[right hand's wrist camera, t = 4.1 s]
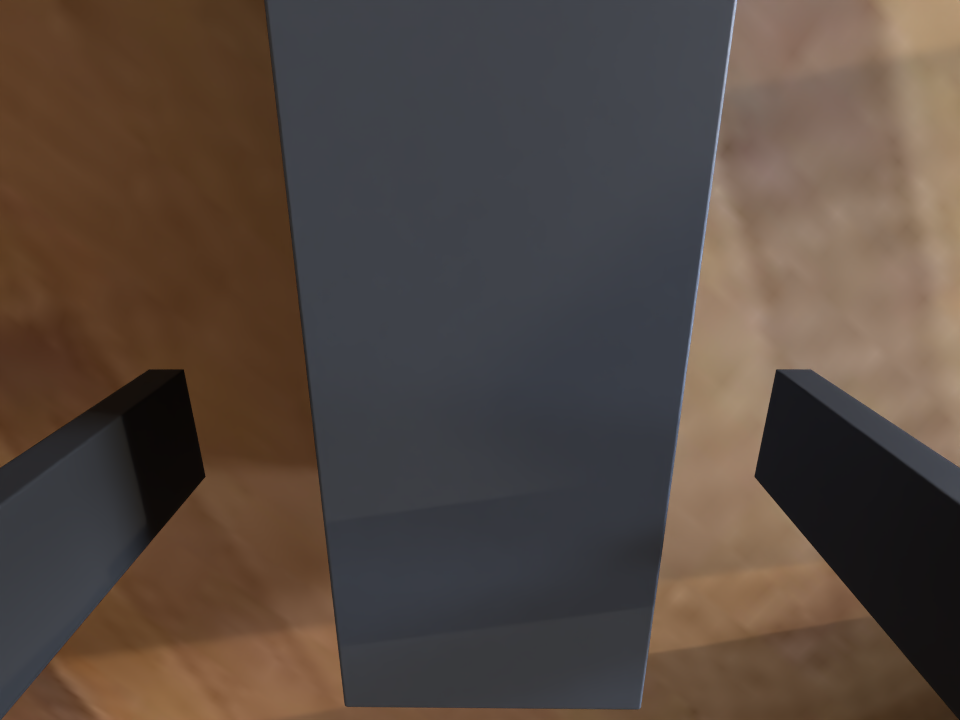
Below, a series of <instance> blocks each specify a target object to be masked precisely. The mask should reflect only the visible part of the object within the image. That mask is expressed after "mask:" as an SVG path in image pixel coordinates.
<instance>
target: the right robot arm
mask: <svg viewBox="0 0 960 720" xmlns="http://www.w3.org/2000/svg"><path fill="white" fill-rule="evenodd" d="M204 478H205V472H204V467H203V462H202V457H201V452H200V447H199V442H198V437H197V432H196V427H195V423H194V418H193V413H192V408H191V403H190V398H189V393H188V388H187V383H186V378H185V373H184V370H148V371H146V372H145V373H143V374H142V375H140V376H139V377H137V378H136V379H134V380H133V381H131V382H129V383H128V384H126V385H125V386H123V387H122V388H120V389H119V390H117V391H116V392H114V393H113V394H111V395H110V396H108V397H107V398H105V399H104V400H102V401H101V402H99V403H98V404H96V405H95V406H93V407H92V408H90V409H89V410H87V411H86V412H84V413H83V414H81V415H80V416H78V417H77V418H75V419H74V420H72V421H71V422H69V423H68V424H66V425H64V426H63V427H61V428H60V429H58V430H57V431H55V432H54V433H52V434H51V435H49V436H48V437H46V438H45V439H43V440H42V441H40V442H39V443H37V444H36V445H34V446H33V447H31V448H30V449H28V450H27V451H25V452H24V453H22V454H21V455H19V456H18V457H16V458H15V459H13V460H12V461H10V462H9V463H7V464H6V465H4V466H2V467H1V468H0V720H1V719H2V718H3V717H4V715H5V714H6V713H7V712H8V711H9V710H10V708H11V707H12V706H13V705H14V704H15V702H16V701H17V700H18V699H19V698H20V696H21V695H22V694H23V693H24V692H25V691H26V689H27V688H28V687H29V686H30V685H31V683H32V682H33V681H34V680H35V679H36V677H37V676H38V675H39V674H40V673H41V672H42V670H43V669H44V668H45V667H46V666H47V664H48V663H49V662H50V661H51V660H52V658H53V657H54V656H55V655H56V654H57V653H58V651H59V650H60V649H61V648H62V647H63V645H64V644H65V643H66V642H67V641H68V639H69V638H70V637H71V636H72V635H73V634H74V632H75V631H76V630H77V629H78V628H79V626H80V625H81V624H82V623H83V622H84V620H85V619H86V618H87V617H88V616H89V614H90V613H91V612H92V611H93V610H94V609H95V607H96V606H97V605H98V604H99V603H100V601H101V600H102V599H103V598H104V597H105V595H106V594H107V593H108V592H109V591H110V590H111V588H112V587H113V586H114V585H115V584H116V582H117V581H118V580H119V579H120V578H121V576H122V575H123V574H124V573H125V572H126V571H127V569H128V568H129V567H130V566H131V565H132V563H133V562H134V561H135V560H136V559H137V557H138V556H139V555H140V554H141V553H142V552H143V550H144V549H145V548H146V547H147V546H148V544H149V543H150V542H151V541H152V540H153V538H154V537H155V536H156V535H157V534H158V533H159V531H160V530H161V529H162V528H163V527H164V525H165V524H166V523H167V522H168V521H169V519H170V518H171V517H172V516H173V515H174V514H175V512H176V511H177V510H178V509H179V508H180V506H181V505H182V504H183V503H184V502H185V500H186V499H187V498H188V497H189V496H190V495H191V493H192V492H193V491H194V490H195V489H196V487H197V486H198V485H199V484H200V483H201V481H202V480H203V479H204ZM755 478H756V479H757V480H758V481H759V483H760V484H761V485H762V486H763V487H764V489H765V490H766V491H767V492H768V493H769V495H770V496H771V497H772V498H773V499H774V500H775V502H776V503H777V504H778V505H779V506H780V508H781V509H782V510H783V511H784V512H785V514H786V515H787V516H788V517H789V518H790V519H791V521H792V522H793V523H794V524H795V525H796V527H797V528H798V529H799V530H800V531H801V533H802V534H803V535H804V536H805V537H806V538H807V540H808V541H809V542H810V543H811V544H812V546H813V547H814V548H815V549H816V550H817V552H818V553H819V554H820V555H821V556H822V557H823V559H824V560H825V561H826V562H827V563H828V565H829V566H830V567H831V568H832V569H833V571H834V572H835V573H836V574H837V575H838V576H839V578H840V579H841V580H842V581H843V582H844V584H845V585H846V586H847V587H848V588H849V590H850V591H851V592H852V593H853V594H854V595H855V597H856V598H857V599H858V600H859V601H860V603H861V604H862V605H863V606H864V607H865V609H866V610H867V611H868V612H869V613H870V615H871V616H872V617H873V618H874V619H875V620H876V622H877V623H878V624H879V625H880V626H881V628H882V629H883V630H884V631H885V632H886V634H887V635H888V636H889V637H890V638H891V639H892V641H893V642H894V643H895V644H896V645H897V647H898V648H899V649H900V650H901V651H902V653H903V654H904V655H905V656H906V657H907V658H908V660H909V661H910V662H911V663H912V664H913V666H914V667H915V668H916V669H917V670H918V672H919V673H920V674H921V675H922V676H923V677H924V679H925V680H926V681H927V682H928V683H929V685H930V686H931V687H932V688H933V689H934V691H935V692H936V693H937V694H938V695H939V696H940V698H941V699H942V700H943V701H944V702H945V704H946V705H947V706H948V707H949V708H950V710H951V711H952V712H953V713H954V714H955V715H956V717H957V718H958V719H959V720H960V468H959V467H957V466H956V465H954V464H953V463H951V462H950V461H948V460H947V459H945V458H944V457H942V456H941V455H939V454H938V453H936V452H935V451H933V450H932V449H930V448H929V447H927V446H926V445H924V444H923V443H921V442H920V441H918V440H917V439H915V438H914V437H912V436H911V435H909V434H908V433H906V432H905V431H903V430H902V429H900V428H899V427H897V426H896V425H894V424H892V423H891V422H889V421H888V420H886V419H885V418H883V417H882V416H880V415H879V414H877V413H876V412H874V411H873V410H871V409H870V408H868V407H867V406H865V405H864V404H862V403H861V402H859V401H858V400H856V399H855V398H853V397H852V396H850V395H849V394H847V393H846V392H844V391H843V390H841V389H840V388H838V387H837V386H835V385H834V384H832V383H831V382H829V381H827V380H826V379H824V378H823V377H821V376H820V375H818V374H817V373H815V372H814V371H812V370H776V373H775V378H774V383H773V388H772V393H771V398H770V403H769V408H768V413H767V418H766V423H765V427H764V432H763V437H762V442H761V447H760V452H759V457H758V462H757V467H756V472H755Z"/></svg>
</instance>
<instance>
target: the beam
mask: <svg viewBox="0 0 960 720" xmlns="http://www.w3.org/2000/svg"><path fill="white" fill-rule="evenodd" d="M264 2H265V11H266V19H267V28H268V37H269V46H270V54H271V63H272V72H273V81H274V90H275V98H276V107H277V116H278V125H279V133H280V142H281V151H282V160H283V168H284V177H285V186H286V195H287V203H288V212H289V221H290V230H291V238H292V247H293V256H294V265H295V273H296V282H297V291H298V300H299V309H300V317H301V326H302V335H303V344H304V352H305V361H306V370H307V379H308V387H309V396H310V405H311V414H312V422H313V431H314V440H315V449H316V457H317V466H318V475H319V484H320V492H321V501H322V510H323V519H324V528H325V536H326V545H327V554H328V563H329V571H330V580H331V589H332V598H333V606H334V615H335V624H336V633H337V641H338V650H339V659H340V668H341V676H342V685H343V694H344V703H345V706H347V707H428V708H536V709H640V708H641V702H642V694H643V687H644V680H645V672H646V665H647V658H648V650H649V643H650V636H651V628H652V621H653V614H654V606H655V599H656V592H657V584H658V577H659V569H660V562H661V555H662V547H663V540H664V533H665V525H666V518H667V511H668V503H669V496H670V489H671V481H672V474H673V467H674V459H675V452H676V445H677V437H678V430H679V423H680V415H681V408H682V401H683V393H684V386H685V379H686V371H687V364H688V357H689V349H690V342H691V334H692V327H693V320H694V312H695V305H696V298H697V290H698V283H699V276H700V268H701V261H702V254H703V246H704V239H705V232H706V224H707V217H708V210H709V202H710V195H711V188H712V180H713V173H714V166H715V158H716V151H717V144H718V136H719V129H720V122H721V114H722V107H723V99H724V92H725V85H726V77H727V70H728V63H729V55H730V48H731V41H732V33H733V26H734V19H735V11H736V4H737V0H264Z"/></svg>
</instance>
